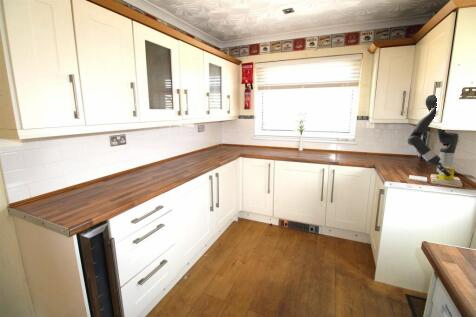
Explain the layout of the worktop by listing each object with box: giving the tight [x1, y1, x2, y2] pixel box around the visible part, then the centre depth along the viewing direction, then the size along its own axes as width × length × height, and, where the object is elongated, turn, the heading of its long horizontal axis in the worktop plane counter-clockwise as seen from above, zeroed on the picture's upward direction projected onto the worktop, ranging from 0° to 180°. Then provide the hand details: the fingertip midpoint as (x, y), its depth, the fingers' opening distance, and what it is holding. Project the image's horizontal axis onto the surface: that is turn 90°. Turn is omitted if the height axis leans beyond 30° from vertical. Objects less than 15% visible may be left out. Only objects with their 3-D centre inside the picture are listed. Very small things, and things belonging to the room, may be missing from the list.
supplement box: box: [438, 167, 456, 181], centre depth 171 cm, size 6×6×11 cm
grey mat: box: [408, 174, 428, 183], centre depth 179 cm, size 12×11×1 cm
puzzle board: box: [429, 173, 463, 188], centre depth 172 cm, size 20×16×2 cm
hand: (448, 174), depth 170 cm, fingers closed on supplement box, 8 cm apart
